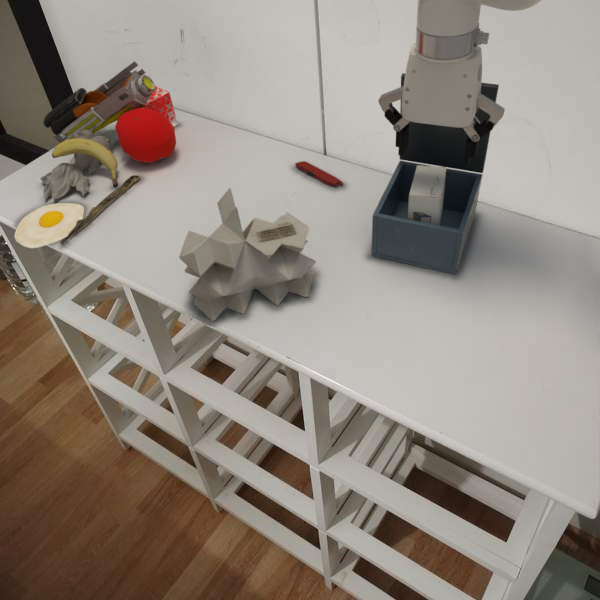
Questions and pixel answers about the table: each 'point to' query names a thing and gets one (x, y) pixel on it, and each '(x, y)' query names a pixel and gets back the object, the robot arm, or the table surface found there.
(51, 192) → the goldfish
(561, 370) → the table surface
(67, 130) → the toy blaster gun
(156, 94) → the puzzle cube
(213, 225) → the table surface
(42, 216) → the cracked egg
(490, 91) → the box lid
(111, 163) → the fruit
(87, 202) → the table surface
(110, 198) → the wooden stick
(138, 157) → the tomato
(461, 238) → the storage bin
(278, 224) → the white crumpled paper lump
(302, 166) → the utility knife
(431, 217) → the ink box
